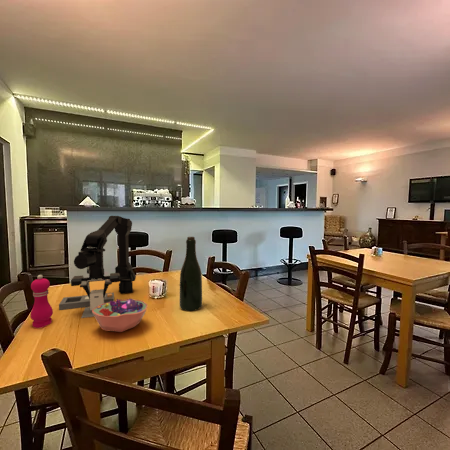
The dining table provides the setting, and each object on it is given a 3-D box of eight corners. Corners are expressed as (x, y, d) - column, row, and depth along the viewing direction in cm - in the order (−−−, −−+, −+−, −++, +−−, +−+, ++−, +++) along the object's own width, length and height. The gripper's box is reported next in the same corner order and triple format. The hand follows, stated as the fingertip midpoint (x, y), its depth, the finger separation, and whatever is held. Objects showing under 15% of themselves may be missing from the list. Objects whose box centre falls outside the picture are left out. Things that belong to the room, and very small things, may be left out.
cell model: (103, 318, 108) (102, 292, 107) (152, 317, 110) (151, 291, 109) (84, 340, 92) (83, 308, 91) (142, 338, 93) (141, 307, 92)
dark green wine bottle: (174, 307, 121) (174, 236, 118) (192, 301, 129) (192, 234, 126) (189, 313, 114) (189, 239, 111) (206, 307, 122) (207, 236, 119)
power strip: (114, 299, 131) (113, 290, 131) (113, 305, 123) (113, 297, 123) (63, 304, 124) (63, 295, 123) (59, 312, 115) (58, 302, 115)
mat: (111, 305, 122) (111, 304, 122) (110, 315, 112) (110, 313, 112) (85, 308, 118) (85, 307, 118) (81, 319, 108) (81, 317, 108)
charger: (104, 304, 118) (103, 289, 117) (103, 308, 113) (102, 292, 112) (91, 305, 116) (91, 290, 115) (90, 310, 111) (89, 294, 111)
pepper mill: (57, 322, 105) (55, 273, 103) (39, 330, 98) (37, 278, 96) (44, 319, 107) (42, 271, 105) (26, 327, 100) (23, 276, 99)
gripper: (119, 258, 124) (120, 290, 125) (74, 260, 117) (76, 294, 119) (119, 263, 113) (119, 298, 115) (69, 266, 107) (71, 303, 108)
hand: (97, 298), depth 114 cm, fingers closed on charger, 5 cm apart
